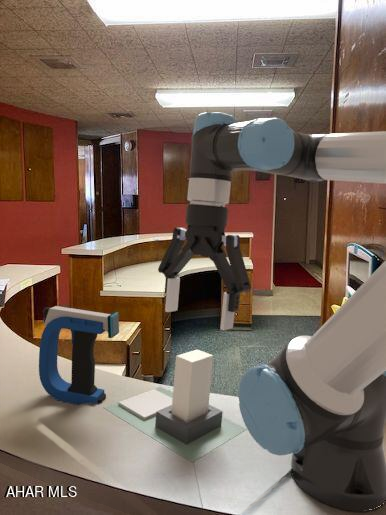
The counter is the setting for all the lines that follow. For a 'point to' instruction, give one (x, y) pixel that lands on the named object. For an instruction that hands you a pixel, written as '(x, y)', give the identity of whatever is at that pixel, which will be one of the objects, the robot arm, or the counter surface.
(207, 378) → the plug
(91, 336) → the handheld scanner
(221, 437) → the green socket board
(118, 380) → the counter surface
